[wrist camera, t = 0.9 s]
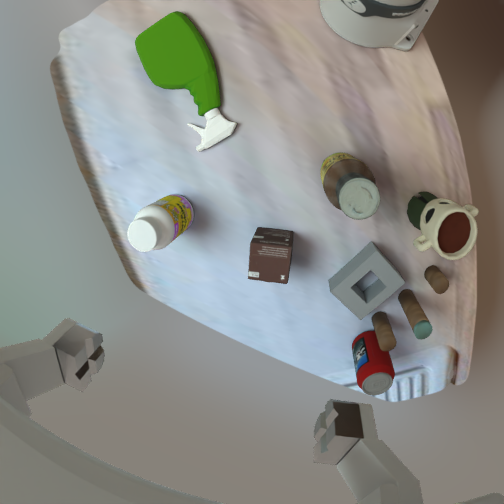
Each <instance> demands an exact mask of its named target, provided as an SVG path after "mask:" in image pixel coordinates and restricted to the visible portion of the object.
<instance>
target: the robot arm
mask: <svg viewBox="0 0 504 504" xmlns="http://www.w3.org/2000/svg"><path fill="white" fill-rule="evenodd" d="M438 2H439V0H320V9H321V13H322V15H323V17H324V19H325V21H326V22H327V24H328V25H329V26H330V27H331V28H332V29H333V30H334V31H335V32H336V33H337V34H338V35H340V36H341V37H343V38H344V39H346V40H348V41H350V42H352V43H355V44H357V45H361V46H365V47H372V48H380V47H392V48H395V49H398V50H402V51H409V50H410V49H411V48H412V46H413V44H414V43H415V41H416V39H417V38H418V36H419V34H420V33H421V31H422V29H423V27H424V26H425V24H426V22H427V21H428V19H429V17H430V16H431V14H432V12H433V10H434V9H435V7H436V5H437V4H438ZM406 37H407V38H409V41H408V40H406ZM102 342H103V337H102V334H101V333H99V332H97V331H95V330H93V329H91V328H89V327H87V326H85V325H82V324H80V323H78V322H76V321H74V320H72V319H70V318H67V319H64V320H63V321H62V322H61V323H60V324H59V325H58V326H57V327H55V328H54V329H53V330H52V331H51V332H50V333H49V334H48V335H47V336H46V337H45V338H43V339H42V340H40V339H36V340H32V341H27V342H23V343H19V344H15V345H11V346H6V347H2V348H0V504H225V503H220V502H217V501H212V500H209V499H205V498H201V497H197V496H194V495H190V494H187V493H183V492H180V491H177V490H174V489H171V488H168V487H165V486H162V485H159V484H157V483H154V482H151V481H149V480H146V479H143V478H141V477H138V476H136V475H134V474H131V473H129V472H126V471H124V470H122V469H120V468H117V467H115V466H113V465H111V464H109V463H107V462H104V461H102V460H100V459H98V458H96V457H94V456H92V455H90V454H89V453H87V452H85V451H83V450H81V449H79V448H77V447H76V446H74V445H72V444H70V443H69V442H67V441H65V440H64V439H62V438H60V437H58V436H57V435H55V434H54V433H52V432H51V431H49V430H47V429H46V428H44V427H43V426H41V425H40V424H38V423H37V422H35V421H34V420H32V419H31V418H30V416H31V414H32V413H31V409H30V407H29V405H28V403H27V401H28V400H30V399H32V398H35V397H37V396H39V395H41V394H44V393H46V392H48V391H50V390H53V389H55V388H57V387H59V386H61V385H64V383H65V384H67V385H69V386H71V387H73V388H75V389H77V390H79V391H81V392H83V391H84V390H85V389H86V387H87V386H88V385H89V383H90V382H91V381H92V380H91V375H93V374H96V373H98V372H99V370H100V369H101V367H102V365H103V362H104V356H105V355H104V350H103V348H102V347H101V343H102ZM314 438H315V439H316V441H317V444H316V445H315V446H314V463H323V464H331V465H336V467H337V469H338V470H339V472H340V474H341V476H342V477H343V479H344V480H345V482H346V484H347V485H348V487H349V489H350V490H351V492H352V494H353V495H354V497H355V498H356V500H357V502H358V503H357V504H423V499H422V493H421V488H420V482H419V480H418V479H417V478H416V477H415V476H414V475H413V474H412V473H411V472H410V470H409V469H408V468H407V467H406V466H405V465H404V464H403V463H402V462H401V461H400V460H399V459H398V457H397V456H396V455H395V454H394V453H393V452H392V451H391V450H390V449H389V447H387V445H386V444H385V443H384V442H383V441H382V440H378V435H377V430H376V424H375V419H374V414H373V409H372V406H371V405H370V404H363V403H355V402H347V401H340V400H333V399H330V400H329V401H328V402H327V404H326V405H325V412H323V413H321V414H320V415H319V417H318V419H317V421H316V424H315V429H314ZM455 504H504V496H503V495H502V494H500V493H491V494H487V495H485V496H481V497H478V498H475V499H471V500H467V501H463V502H459V503H455Z"/></svg>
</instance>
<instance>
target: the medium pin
mask: <svg viewBox="0 0 504 504" xmlns="http://www.w3.org/2000/svg"><path fill="white" fill-rule="evenodd" d="M372 323H373V326H374V329H375V333H376V336H377V339H378V343H379V346H380V349H381V350H382V351H390V350H392V349H393V348H394V347H395V346H396V339H395V336H394V334H393V331H392V328H391V326H390V323H389V320H388V318H387V315H386V313H384V312H377V313H375V314H374V315H373V317H372Z"/></svg>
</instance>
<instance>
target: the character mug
mask: <svg viewBox="0 0 504 504" xmlns="http://www.w3.org/2000/svg"><path fill="white" fill-rule="evenodd" d="M419 194H420V195H421V196H422V197H419V198H416V197H415V196H413V197H412V199H411V200H410V202H409V204H408V210H407V214H408V217H409V220H410V222H411V223H412V224H413V225H414V227H416V228H418V229H419V230H421V233H422V235H421V236H419V237H418V238H416V239H415V240H414V246H415V247H416V248H417V249H418V250H419V251H420V252H424V251H426V250H427V249H429V248H430V247H432V248H433V249H434V250H435V251H436V252H437V253H438V254H439V255H441V256H442V257H444V258H446V259H448V260H458V259H460V258H463V257H465V256H466V255H467V254H468V253H469V252H470V251H471V250H472V248H473V246H474V244H475V242H476V238H477V232H478V229H477V223H476V220H475V218H474V217H475V216H476V215H477V214H478V212H479V210H478V209H477V208H476V207H474V206H472V205H470V204H467V205H465V206H463V207H462V206H461V205H459V204H457V203H455V202H453V201H452V200H449V199H444V198H437V197H436V196H435V195H433V194H431V193H429V192H419ZM469 211H470V212H469ZM424 241H426V242H425V243H423V242H424ZM421 243H423V244H421Z"/></svg>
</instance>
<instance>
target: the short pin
mask: <svg viewBox="0 0 504 504" xmlns="http://www.w3.org/2000/svg"><path fill="white" fill-rule="evenodd" d="M424 275H425V278H426V280H427V281H428V282H429V284H430V285H431V287H432V288H433V289H434V291H435V292H436V293H438V294H442V293H444V292H445V291H446V290H447V289H448V287H449V281H448V279H447V278H446V277H445V276H444V275H443V273H442V272H441V271H440V270H439V269H438V268H437V267H436V266H434V265H432V266H429V267H428V268H427V269H426V270H425V274H424Z"/></svg>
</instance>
